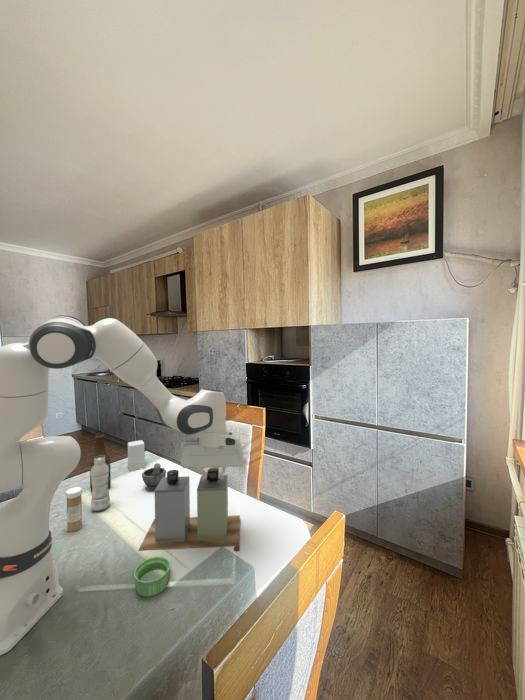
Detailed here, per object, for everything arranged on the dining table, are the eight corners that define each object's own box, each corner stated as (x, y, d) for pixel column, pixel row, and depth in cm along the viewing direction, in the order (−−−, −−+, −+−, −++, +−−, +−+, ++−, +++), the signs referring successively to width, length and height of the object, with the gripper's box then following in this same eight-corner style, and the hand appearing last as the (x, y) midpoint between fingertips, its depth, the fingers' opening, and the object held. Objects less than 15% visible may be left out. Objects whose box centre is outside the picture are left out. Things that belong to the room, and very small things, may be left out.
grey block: (184, 540, 93) (184, 489, 92) (155, 542, 92) (154, 490, 92) (189, 523, 102) (189, 476, 101) (163, 524, 101) (162, 477, 101)
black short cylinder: (182, 536, 93) (181, 476, 93) (158, 537, 93) (157, 477, 92) (187, 522, 101) (186, 467, 100) (164, 523, 100) (164, 467, 100)
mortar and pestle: (140, 486, 132) (139, 459, 131) (161, 480, 137) (161, 454, 137) (147, 496, 122) (146, 467, 122) (169, 489, 128) (169, 462, 128)
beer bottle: (91, 487, 130) (90, 433, 130) (111, 484, 133) (110, 431, 133) (89, 496, 123) (88, 438, 123) (110, 492, 126) (109, 436, 126)
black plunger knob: (224, 534, 94) (223, 475, 94) (200, 535, 94) (199, 475, 93) (225, 520, 102) (225, 465, 101) (203, 521, 101) (203, 466, 101)
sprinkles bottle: (69, 525, 103) (69, 487, 103) (84, 523, 104) (83, 485, 104) (64, 533, 99) (63, 493, 99) (79, 531, 100) (79, 492, 100)
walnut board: (239, 550, 90) (239, 545, 90) (138, 555, 88) (138, 550, 88) (239, 519, 106) (239, 515, 106) (154, 523, 104) (154, 518, 104)
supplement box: (145, 468, 150) (144, 443, 150) (129, 471, 147) (128, 446, 146) (143, 463, 157) (142, 439, 156) (127, 466, 153) (127, 442, 153)
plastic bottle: (113, 504, 117) (112, 453, 116) (102, 514, 110) (101, 460, 110) (98, 503, 117) (97, 453, 117) (86, 513, 111) (85, 460, 110)
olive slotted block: (226, 538, 93) (226, 487, 93) (197, 540, 93) (197, 488, 92) (227, 521, 102) (227, 475, 102) (201, 522, 102) (201, 475, 101)
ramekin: (134, 577, 80) (134, 561, 80) (169, 567, 84) (169, 552, 84) (133, 604, 72) (132, 586, 72) (171, 592, 75) (171, 575, 75)
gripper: (178, 441, 93) (178, 485, 93) (243, 440, 94) (243, 483, 94) (182, 435, 99) (182, 476, 99) (243, 434, 100) (243, 474, 101)
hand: (212, 479), depth 97 cm, fingers closed on black plunger knob, 4 cm apart
